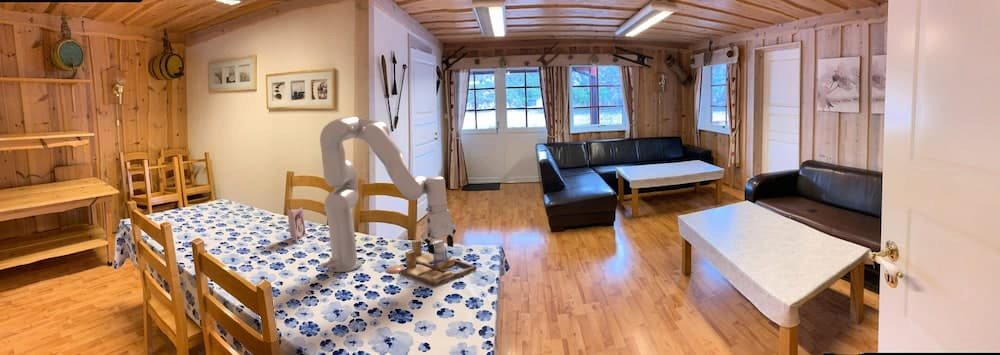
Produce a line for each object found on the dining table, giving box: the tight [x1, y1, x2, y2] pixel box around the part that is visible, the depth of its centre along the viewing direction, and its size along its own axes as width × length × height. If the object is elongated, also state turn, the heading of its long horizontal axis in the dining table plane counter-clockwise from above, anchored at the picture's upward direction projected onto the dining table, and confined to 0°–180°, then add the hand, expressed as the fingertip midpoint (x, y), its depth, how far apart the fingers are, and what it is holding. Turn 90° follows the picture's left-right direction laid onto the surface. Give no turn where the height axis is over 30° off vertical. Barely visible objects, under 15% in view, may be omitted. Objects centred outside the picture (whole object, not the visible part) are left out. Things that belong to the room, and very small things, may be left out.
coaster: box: [386, 265, 406, 274], centre depth 193 cm, size 7×7×1 cm
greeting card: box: [286, 206, 306, 243], centre depth 235 cm, size 11×7×15 cm, turn 1°
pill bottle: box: [432, 239, 448, 266], centre depth 195 cm, size 6×5×10 cm
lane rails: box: [400, 256, 477, 288], centre depth 189 cm, size 21×20×2 cm
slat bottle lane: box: [411, 239, 456, 270], centre depth 200 cm, size 8×20×7 cm, turn 46°
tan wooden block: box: [404, 249, 433, 276], centre depth 190 cm, size 8×9×7 cm
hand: (441, 249), depth 195 cm, fingers open, 9 cm apart
